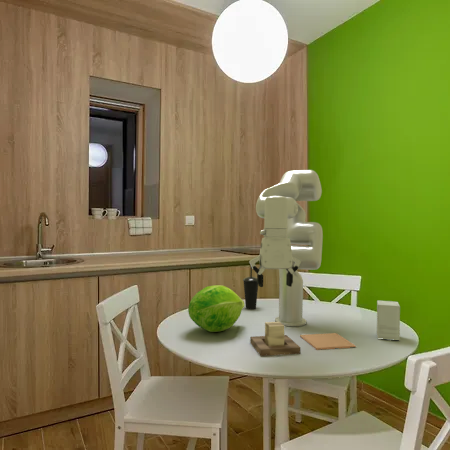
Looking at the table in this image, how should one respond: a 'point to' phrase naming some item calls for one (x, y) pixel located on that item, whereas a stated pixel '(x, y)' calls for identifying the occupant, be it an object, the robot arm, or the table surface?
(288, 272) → the robot arm
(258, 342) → the pocket block
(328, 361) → the table surface
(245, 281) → the drinking cup
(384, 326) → the supplement box
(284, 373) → the table surface
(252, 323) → the table surface
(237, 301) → the lettuce
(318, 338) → the pad
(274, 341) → the maple block
